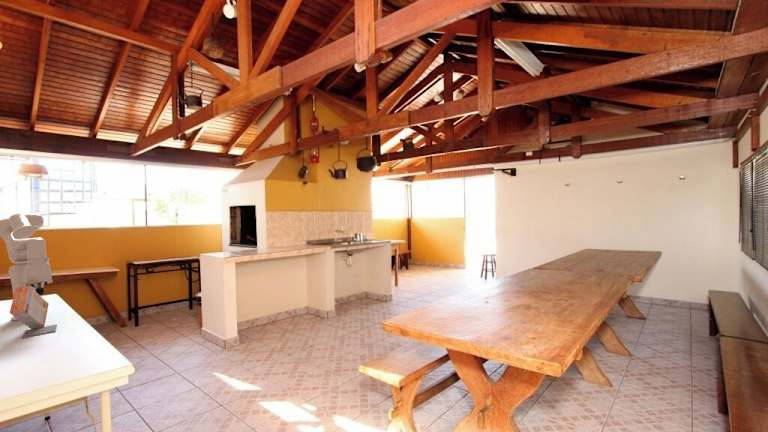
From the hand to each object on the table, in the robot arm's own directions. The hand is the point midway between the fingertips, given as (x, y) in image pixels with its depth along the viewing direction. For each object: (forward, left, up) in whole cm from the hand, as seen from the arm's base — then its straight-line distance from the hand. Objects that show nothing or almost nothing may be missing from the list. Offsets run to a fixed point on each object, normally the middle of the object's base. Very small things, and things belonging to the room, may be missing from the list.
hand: (40, 295), depth 198 cm
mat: (+14, 0, -17) cm, 22 cm away
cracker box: (+1, -1, -11) cm, 11 cm away
